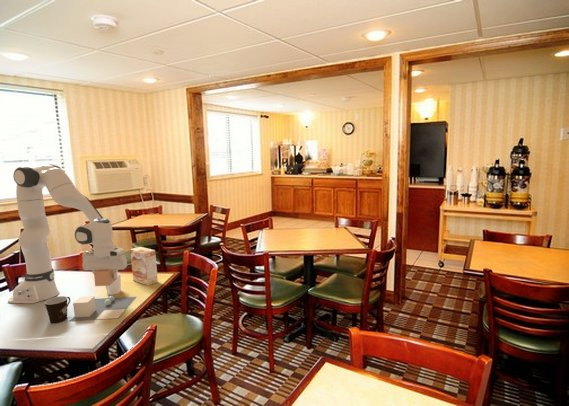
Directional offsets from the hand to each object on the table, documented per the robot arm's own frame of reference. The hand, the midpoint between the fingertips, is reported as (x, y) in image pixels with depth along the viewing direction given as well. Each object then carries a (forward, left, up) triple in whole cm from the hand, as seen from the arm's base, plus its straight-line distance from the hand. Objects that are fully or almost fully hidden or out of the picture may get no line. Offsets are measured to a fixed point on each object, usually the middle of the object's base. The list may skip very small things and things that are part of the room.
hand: (105, 278), depth 171 cm
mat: (+1, -5, -14) cm, 15 cm away
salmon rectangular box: (0, 0, -2) cm, 2 cm away
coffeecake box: (+9, +30, -14) cm, 34 cm away
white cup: (-3, +15, -14) cm, 21 cm away
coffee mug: (-15, -14, -14) cm, 25 cm away
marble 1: (+1, -2, -14) cm, 14 cm away
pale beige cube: (-6, -10, -14) cm, 18 cm away
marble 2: (+1, +2, -14) cm, 14 cm away
